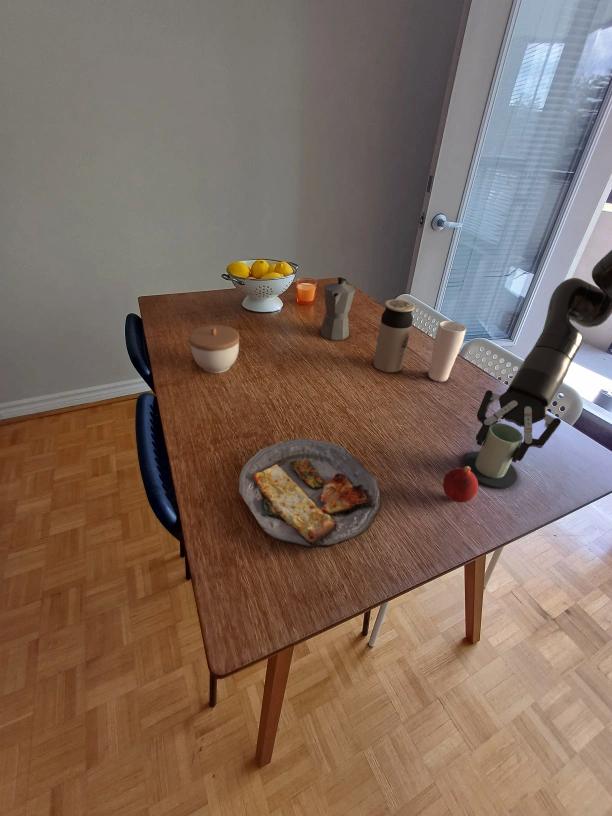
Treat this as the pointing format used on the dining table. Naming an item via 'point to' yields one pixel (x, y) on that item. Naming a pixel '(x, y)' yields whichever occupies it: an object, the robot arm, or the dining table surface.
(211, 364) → the lidded bowl
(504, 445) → the cup
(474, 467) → the coaster
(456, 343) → the drinking glass
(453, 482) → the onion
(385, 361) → the travel mug
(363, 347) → the dining table surface
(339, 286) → the coffeepot
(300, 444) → the food plate
